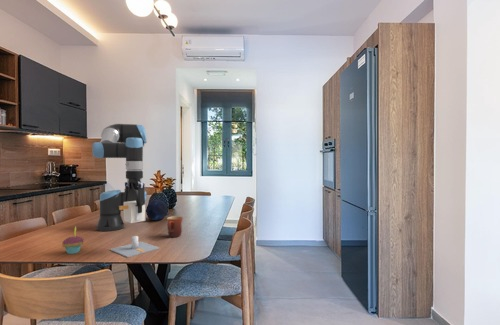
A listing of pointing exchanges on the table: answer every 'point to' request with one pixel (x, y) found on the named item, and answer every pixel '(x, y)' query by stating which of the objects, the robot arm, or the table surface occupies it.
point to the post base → (132, 251)
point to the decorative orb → (156, 210)
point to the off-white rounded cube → (131, 212)
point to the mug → (174, 226)
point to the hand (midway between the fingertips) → (134, 218)
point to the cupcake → (73, 243)
